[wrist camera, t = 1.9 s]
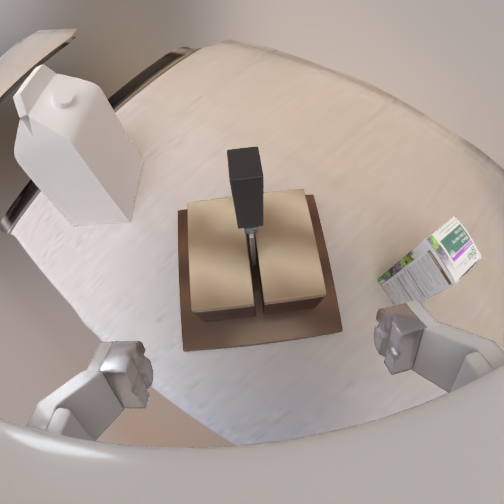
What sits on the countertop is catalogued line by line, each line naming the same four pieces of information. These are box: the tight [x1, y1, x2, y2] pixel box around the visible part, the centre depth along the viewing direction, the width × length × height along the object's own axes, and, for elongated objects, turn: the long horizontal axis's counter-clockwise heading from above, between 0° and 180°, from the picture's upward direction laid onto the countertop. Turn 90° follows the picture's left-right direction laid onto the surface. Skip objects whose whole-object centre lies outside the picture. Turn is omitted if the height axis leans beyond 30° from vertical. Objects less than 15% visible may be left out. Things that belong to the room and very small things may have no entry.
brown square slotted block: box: [178, 189, 342, 351], centre depth 36 cm, size 20×20×8 cm
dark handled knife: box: [227, 147, 264, 265], centre depth 26 cm, size 4×2×15 cm, turn 7°
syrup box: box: [378, 216, 482, 305], centre depth 31 cm, size 6×6×14 cm
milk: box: [13, 64, 144, 226], centre depth 33 cm, size 12×12×26 cm
